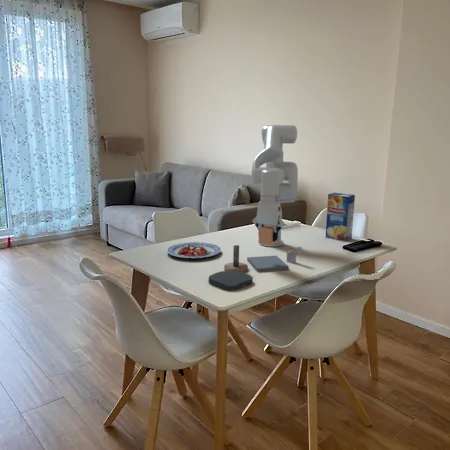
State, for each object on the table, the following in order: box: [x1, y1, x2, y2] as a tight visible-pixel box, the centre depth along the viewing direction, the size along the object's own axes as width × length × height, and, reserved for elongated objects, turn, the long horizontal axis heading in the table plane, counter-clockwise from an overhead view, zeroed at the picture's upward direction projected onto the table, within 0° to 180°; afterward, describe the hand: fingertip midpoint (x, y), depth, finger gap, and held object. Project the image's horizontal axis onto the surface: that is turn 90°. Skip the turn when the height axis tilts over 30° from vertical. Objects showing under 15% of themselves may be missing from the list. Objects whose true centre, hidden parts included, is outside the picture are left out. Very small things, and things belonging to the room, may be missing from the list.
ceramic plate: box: [166, 241, 222, 260], centre depth 217 cm, size 26×26×3 cm
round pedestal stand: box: [223, 244, 249, 273], centre depth 193 cm, size 10×10×10 cm
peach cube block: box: [258, 225, 277, 245], centre depth 197 cm, size 6×6×7 cm
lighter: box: [286, 246, 303, 264], centre depth 204 cm, size 7×2×8 cm, turn 48°
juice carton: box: [325, 192, 356, 242], centre depth 244 cm, size 12×8×24 cm, turn 50°
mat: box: [246, 255, 290, 273], centre depth 200 cm, size 16×14×2 cm
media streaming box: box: [208, 270, 254, 291], centre depth 179 cm, size 15×15×3 cm
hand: (268, 239), depth 198 cm, fingers closed on peach cube block, 5 cm apart
